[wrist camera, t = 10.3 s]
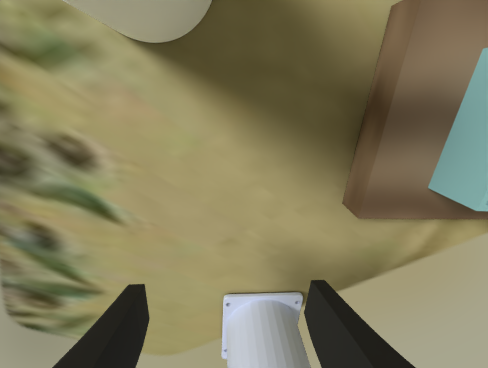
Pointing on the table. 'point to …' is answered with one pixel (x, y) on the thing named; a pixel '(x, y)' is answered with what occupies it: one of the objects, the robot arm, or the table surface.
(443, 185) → the light blue open box
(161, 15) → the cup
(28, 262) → the table surface
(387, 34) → the brown flat block
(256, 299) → the robot arm
